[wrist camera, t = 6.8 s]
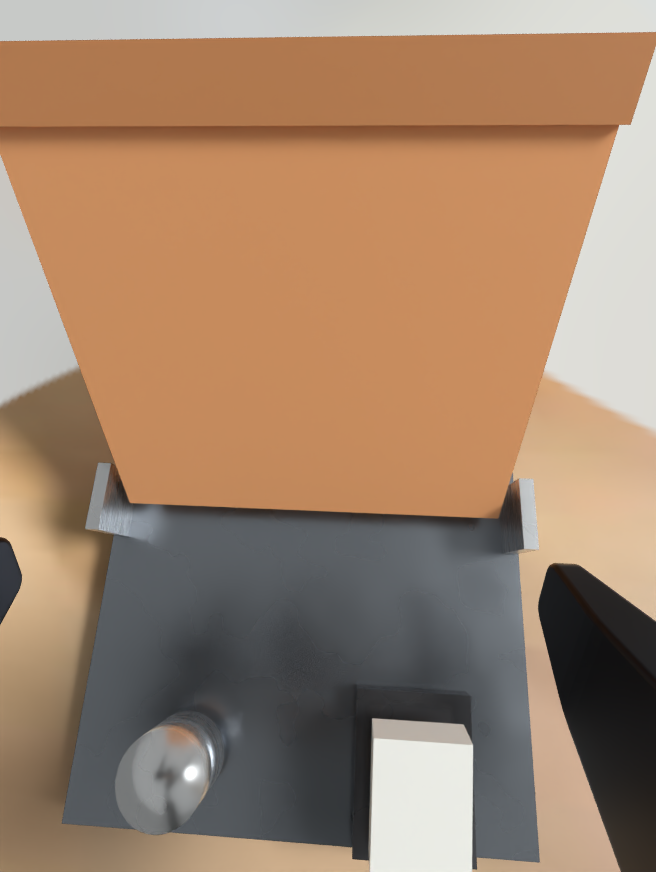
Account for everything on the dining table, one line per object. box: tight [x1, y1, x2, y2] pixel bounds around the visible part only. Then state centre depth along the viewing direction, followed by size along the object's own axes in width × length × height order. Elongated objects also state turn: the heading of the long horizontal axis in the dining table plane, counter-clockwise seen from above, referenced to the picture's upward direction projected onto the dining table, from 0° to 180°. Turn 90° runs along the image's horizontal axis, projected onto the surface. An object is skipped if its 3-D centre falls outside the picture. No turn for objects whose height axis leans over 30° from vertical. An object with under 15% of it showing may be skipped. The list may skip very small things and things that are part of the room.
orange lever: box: [0, 32, 656, 519], centre depth 12 cm, size 2×12×11 cm
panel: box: [62, 463, 540, 869], centre depth 14 cm, size 11×13×3 cm
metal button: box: [115, 710, 224, 835], centre depth 13 cm, size 2×2×2 cm
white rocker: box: [368, 718, 473, 872], centre depth 12 cm, size 3×2×1 cm
